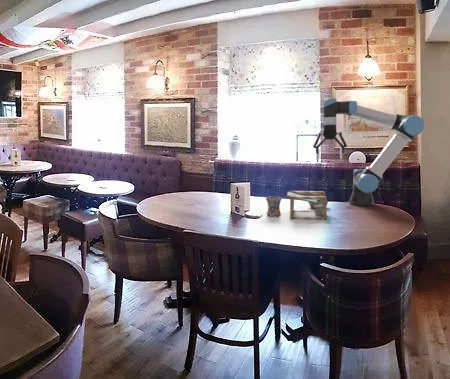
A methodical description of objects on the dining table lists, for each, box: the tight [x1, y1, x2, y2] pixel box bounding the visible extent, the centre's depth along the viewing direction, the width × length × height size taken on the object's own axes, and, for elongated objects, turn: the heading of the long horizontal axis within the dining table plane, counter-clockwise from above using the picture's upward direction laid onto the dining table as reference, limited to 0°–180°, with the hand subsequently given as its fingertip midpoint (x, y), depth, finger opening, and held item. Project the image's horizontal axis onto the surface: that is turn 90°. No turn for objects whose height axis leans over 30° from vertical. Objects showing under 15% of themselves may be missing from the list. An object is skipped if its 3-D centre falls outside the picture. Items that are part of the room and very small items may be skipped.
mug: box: [265, 195, 282, 217], centre depth 239 cm, size 12×9×11 cm
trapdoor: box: [286, 191, 317, 204], centre depth 235 cm, size 17×14×2 cm
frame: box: [289, 190, 328, 221], centre depth 235 cm, size 20×18×13 cm
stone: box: [314, 204, 323, 216], centre depth 234 cm, size 5×5×6 cm
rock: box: [306, 194, 329, 209], centre depth 257 cm, size 14×10×8 cm
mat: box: [294, 212, 322, 217], centre depth 236 cm, size 15×13×1 cm
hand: (329, 158), depth 250 cm, fingers open, 13 cm apart
